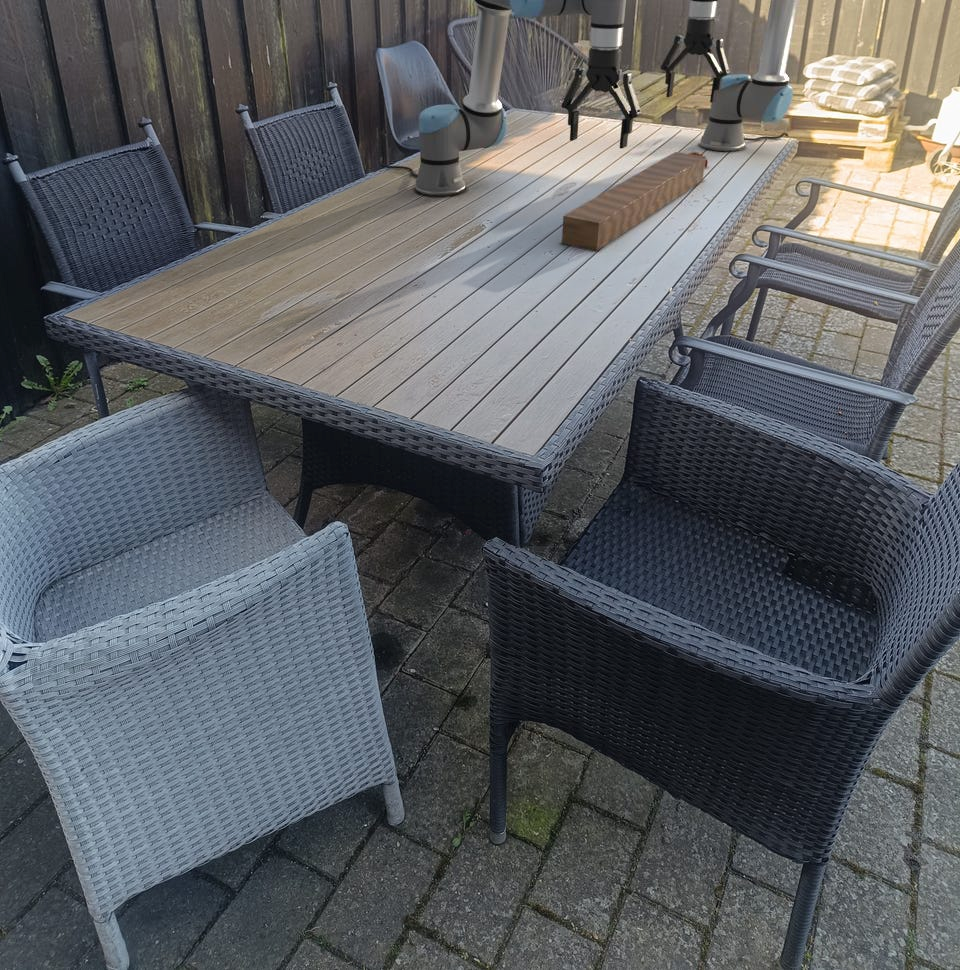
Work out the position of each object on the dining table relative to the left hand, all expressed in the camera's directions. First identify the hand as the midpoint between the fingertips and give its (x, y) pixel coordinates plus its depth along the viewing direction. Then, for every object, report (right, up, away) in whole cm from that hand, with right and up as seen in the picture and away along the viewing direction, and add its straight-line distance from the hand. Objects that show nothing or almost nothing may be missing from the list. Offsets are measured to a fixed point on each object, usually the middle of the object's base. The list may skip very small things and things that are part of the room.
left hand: (598, 143), depth 208 cm
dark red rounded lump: (+43, +22, +72) cm, 87 cm away
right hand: (+33, +30, +42) cm, 62 cm away
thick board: (+17, -5, +35) cm, 40 cm away
